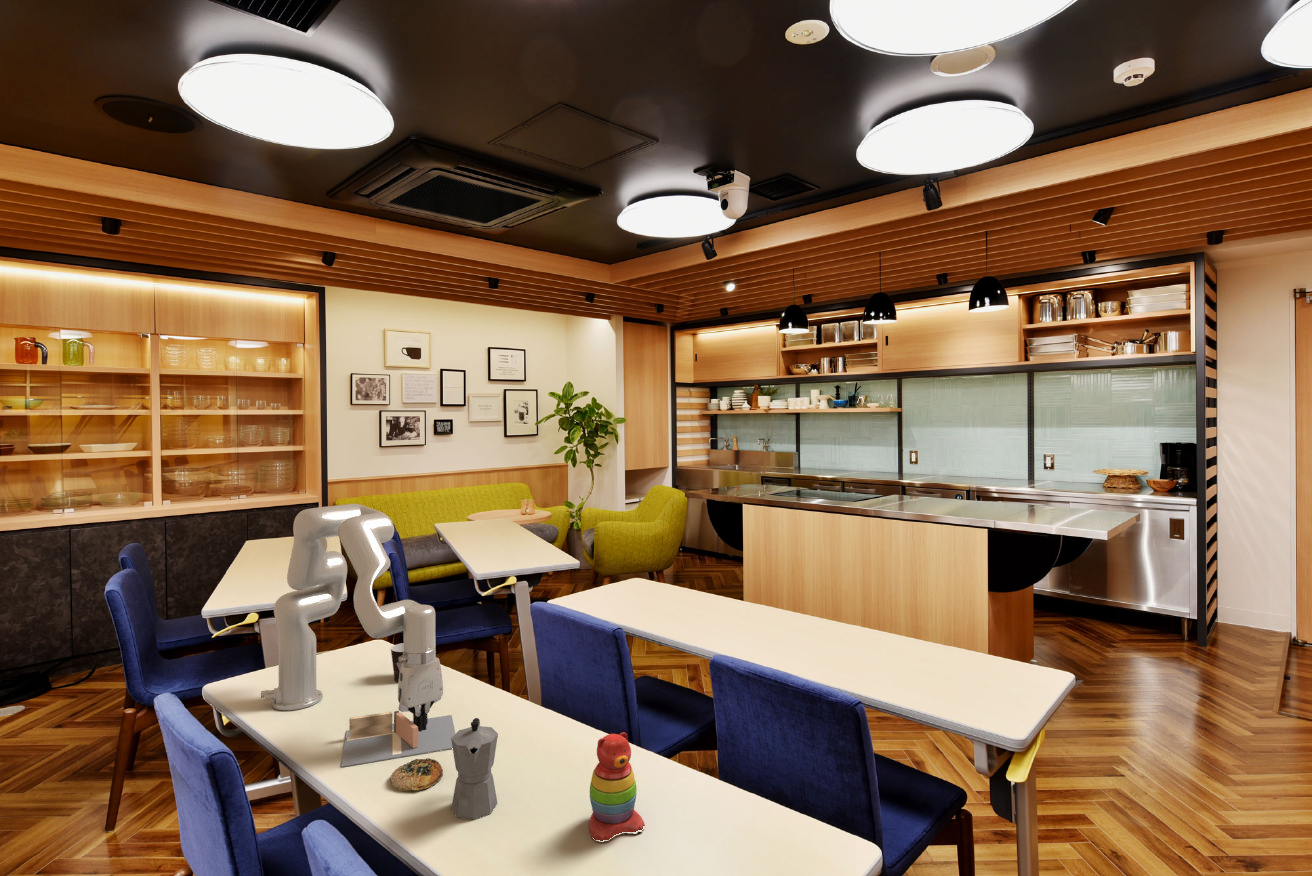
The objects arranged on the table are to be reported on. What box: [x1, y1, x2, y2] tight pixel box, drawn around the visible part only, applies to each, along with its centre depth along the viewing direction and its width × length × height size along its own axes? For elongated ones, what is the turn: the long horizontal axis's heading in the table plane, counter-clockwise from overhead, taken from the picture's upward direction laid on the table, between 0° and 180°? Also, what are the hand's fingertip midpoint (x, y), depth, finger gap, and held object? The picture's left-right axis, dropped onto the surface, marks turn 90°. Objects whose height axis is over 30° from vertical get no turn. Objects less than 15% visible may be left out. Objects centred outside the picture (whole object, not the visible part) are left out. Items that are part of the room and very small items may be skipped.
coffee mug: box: [390, 642, 404, 683], centre depth 205 cm, size 12×9×10 cm
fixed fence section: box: [348, 710, 400, 740], centre depth 168 cm, size 12×1×5 cm, turn 112°
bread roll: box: [390, 757, 444, 792], centre depth 148 cm, size 11×11×5 cm
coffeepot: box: [451, 717, 499, 820], centre depth 139 cm, size 15×9×18 cm, turn 13°
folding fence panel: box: [396, 711, 418, 748], centre depth 165 cm, size 11×1×5 cm, turn 43°
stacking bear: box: [588, 732, 646, 841], centre depth 132 cm, size 11×10×18 cm
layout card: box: [340, 714, 456, 768], centre depth 166 cm, size 26×19×1 cm
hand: (420, 728), depth 165 cm, fingers closed
